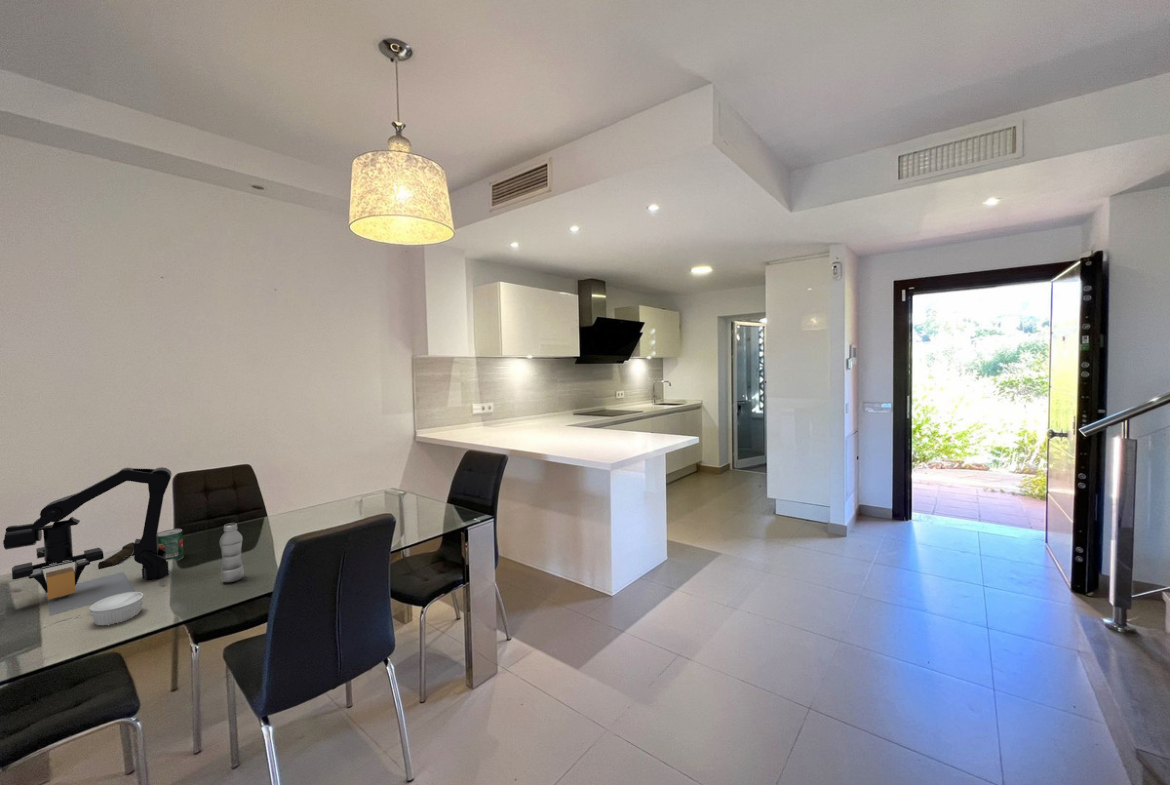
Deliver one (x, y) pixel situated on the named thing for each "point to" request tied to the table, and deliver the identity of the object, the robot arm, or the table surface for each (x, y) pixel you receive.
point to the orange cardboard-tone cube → (60, 582)
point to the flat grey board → (91, 592)
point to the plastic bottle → (231, 554)
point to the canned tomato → (171, 543)
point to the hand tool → (117, 556)
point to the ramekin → (116, 608)
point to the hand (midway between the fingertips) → (61, 588)
